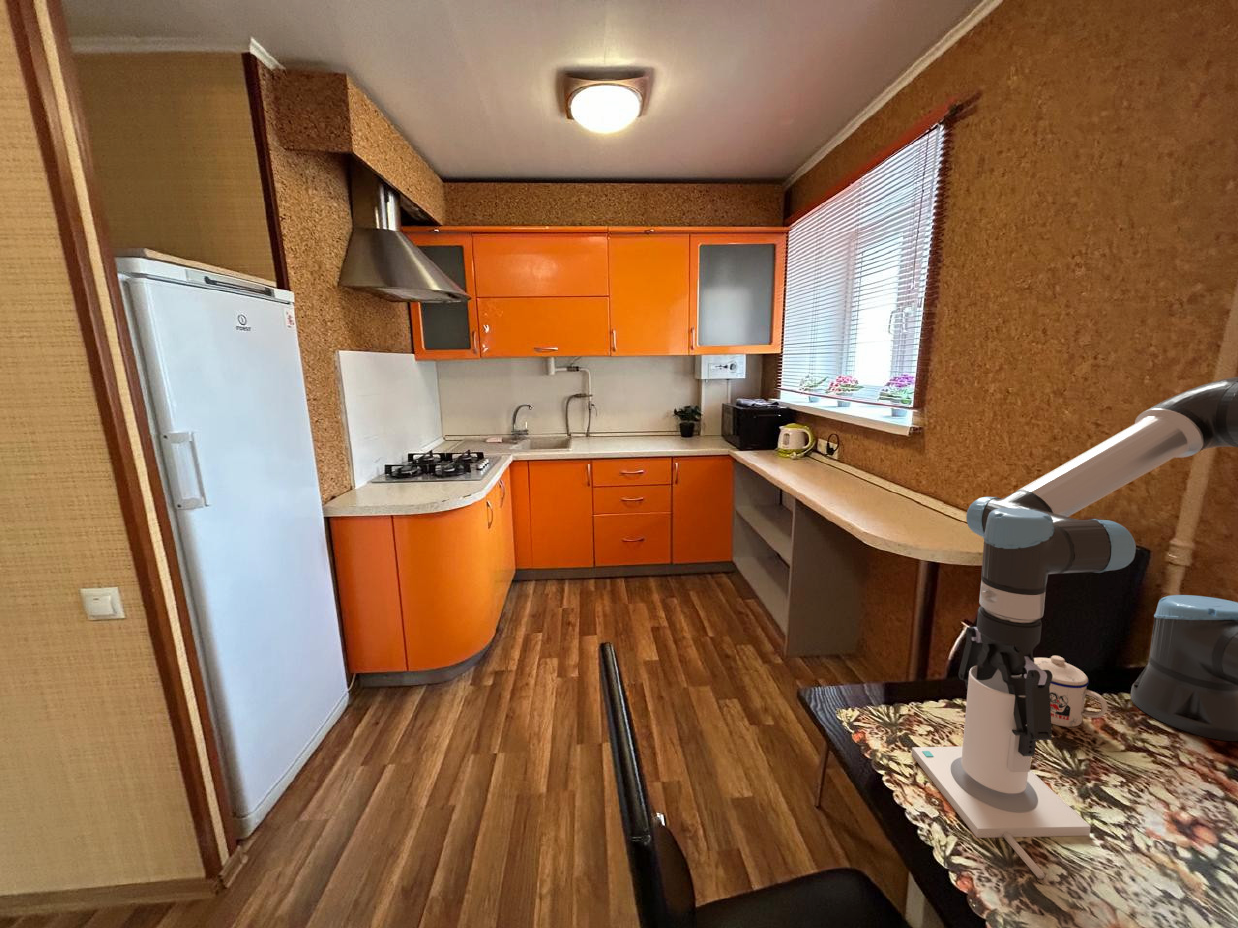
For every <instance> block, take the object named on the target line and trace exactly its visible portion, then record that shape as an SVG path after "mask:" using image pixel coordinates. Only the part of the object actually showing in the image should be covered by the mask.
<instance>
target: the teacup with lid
mask: <svg viewBox="0 0 1238 928" xmlns="http://www.w3.org/2000/svg"><path fill="white" fill-rule="evenodd" d="M1033 658H1034V663H1035V664H1036V665H1037V666H1038V667H1039V668H1040V669H1042V670H1049V671H1051V673H1052V675H1053V677H1052V681H1051V684H1050V687H1049V688H1050V708H1051V725H1055V726H1056V725H1057V726H1061V727H1065V728H1067V727H1068V728H1071V727H1077V726H1079V725H1081V724H1082V722H1083V716H1085V717H1088V718H1090V719H1092V718H1093V719H1097V718H1102V717H1103V716H1105V714H1106V713H1107V711H1108V706H1109V705H1108V702H1107V700H1106V699H1105V698H1104V697H1103V696H1101V695H1100V694H1099V693H1098V692H1095V691H1093V690H1090V689H1087V686H1088V685H1089V683H1090V681H1089V678H1088V676H1087V675H1086V674H1085V673H1084V671H1082V670H1081V669H1079V668H1078V667H1076V666H1074V665H1072V664H1070V663H1067V662H1066V660H1065V658H1063V657H1061V656H1060V655H1052V656H1050V657H1049V658H1048V657H1033ZM1086 695H1087V696H1090V697H1092V698H1094V699H1096V700H1097V701H1098V703H1100V705H1101V708H1100V710H1099V711H1097V712H1092V711H1088V710H1086V709H1085V701H1086ZM1084 709H1085V710H1084Z"/></svg>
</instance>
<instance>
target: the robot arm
mask: <svg viewBox="0 0 1238 928" xmlns="http://www.w3.org/2000/svg"><path fill="white" fill-rule="evenodd" d="M1229 447H1232V448H1238V376H1234V377H1227V378H1223V379H1219V380H1215V381H1211V382H1208V383H1204V384H1202V385H1199V386H1196V387H1194V388H1190V389H1187V390H1185V391H1183V392H1180V393H1178V394H1176V395H1174V396H1171V397H1169V398H1167V399H1165V400H1163V401H1161V402H1159V403H1157V404H1155V405H1154V406H1151V407H1150V408H1148V409H1146V410H1144V411H1143V412H1141V413H1140V414H1138V415H1137V416H1136V418H1135V420H1134V423H1133V424H1132V425H1130V426H1129V427H1127V428H1124V429H1123V430H1122V431H1119V432H1118V433H1116V434H1114V435H1113V436H1110V437H1109V438H1107V439H1105V440H1104V441H1102V442H1100V443H1098V444H1097V445H1095V446H1093V447H1092V448H1090V449H1088V450H1086V451H1084V452H1083V453H1081V454H1079V455H1077V456H1076V457H1074V458H1072V459H1070V460H1068V461H1067V462H1065V463H1063V464H1061V465H1060V466H1058V467H1056V468H1055V469H1053V470H1051V471H1049V472H1048V473H1045V474H1044V475H1042V476H1041V477H1038V478H1036V479H1035V480H1033V481H1031V482H1030V483H1028V484H1026V485H1025V486H1023V487H1021V488H1019V489H1018V490H1016V491H1014V492H1012V493H1010V494H1008V495H1007V496H1005V497H1003V498H1000V497H999V496H983V497H979V498H977V499H975V500H974V501H973V502H972V503H971V504H970V505H969V507H968V509H967V511H966V516H965V517H966V524H967V527H968V528H969V529H970V530H971V531H972V533H974V534H975V535H977V536H979V537H982V538H983V539H982V540H983V548H982V549H983V551H982V561H981V562H982V565H981V576H980V577H981V578H980V579H981V581H980V589H979V590H980V591H979V601H978V603H979V605H980V606H979V607H978V610H977V618H976V626H971V627H970V626H969V627H966V642H965V646H964V649H963V653H962V658H961V662H960V666H959V670H958V675H957V676H958V678H959V680H962V681H964V682H965V688H966V689H967V690H968V680H969V671H970V669H971V668H972V667H973V666H976V665H977V679H978V680H988V679H991V678H992V677H993V675H994V674H995V672H996V671H997V669H999V670H1000V672H1001V674H1002V679H1003V681H1004V682H1005V683H1006V684H1007V686H1008V691H1009V694H1013V695H1015V703H1014V713H1013V714H1014V719H1015V723H1016V728H1017V729H1011V737H1010V747H1009V756H1008V766H1007V768H1008V769H1009V770H1010V771H1011V772H1030V770H1031V765H1032V764H1031V763H1032V757H1034V755H1035V753H1036V745H1037V741H1050V740H1052V739H1053V731H1052V723H1051V708H1050V688H1049V687H1050V684H1051V681H1052V677H1053V675H1052V673H1051V671H1049V670H1042V669H1040V668H1039V667H1038V666H1037V665H1036V664H1035V663H1034V658H1035V657H1034V655H1033V650H1034V649H1035V648H1036V647H1037V646H1038V645H1039V644H1040V643H1041V634H1042V627H1043V626H1042V625H1043V621H1042V620H1041V618H1043V616H1044V611H1045V603H1046V601H1045V600H1046V591H1047V583H1048V577H1049V575H1058V574H1074V573H1075V574H1076V573H1077V574H1079V573H1098V574H1100V573H1101V574H1102V573H1104V572H1109V571H1117V570H1121V569H1124V568H1126V567H1128V566H1129V565H1130V564H1131V563H1132V562H1133V561H1134V559H1135V556H1136V551H1137V549H1136V548H1137V547H1136V546H1137V545H1136V542H1135V539H1134V536H1133V535H1132V533H1131V532H1130V531H1129V530H1128V529H1127V528H1126V527H1125V526H1123V525H1122V524H1120V523H1118V522H1116V521H1113V520H1108V519H1107V520H1106V519H1105V520H1104V519H1096V518H1091V519H1086V520H1084V519H1076V518H1072V517H1070V516H1072V515H1074V514H1075V513H1077V512H1080V511H1081V510H1083V509H1085V508H1086V507H1089V506H1091V505H1092V504H1093V503H1096V502H1098V501H1100V500H1101V499H1103V498H1104V497H1107V496H1108V495H1110V494H1111V493H1113V492H1115V491H1117V490H1119V489H1121V488H1122V487H1124V486H1126V485H1127V484H1130V483H1131V482H1133V481H1135V480H1137V479H1138V478H1140V477H1142V476H1144V475H1145V474H1148V473H1150V472H1151V471H1153V470H1155V469H1156V468H1158V467H1160V466H1162V465H1164V464H1165V463H1167V462H1169V461H1170V460H1172V459H1174V458H1187V457H1191V456H1194V455H1195V454H1197V453H1200V452H1201V451H1203V450H1207V449H1212V448H1229ZM1153 617H1154V619H1153V627H1152V635H1151V642H1150V651H1149V656H1148V657H1149V658H1148V662H1147V663H1148V664H1147V665H1146V667H1144V669H1143V671H1142V672H1141V673H1139V676H1138V677H1137V679H1136V680H1135V681H1134V683H1132V685H1131V690H1130V700H1131V702H1132V703H1133V704H1134V705H1135V706H1136V707H1137V708H1138V709H1140V710H1141V711H1142V712H1143V713H1145V714H1147V715H1148V716H1150V717H1152V718H1153V719H1156V721H1159V722H1161V723H1164V724H1165V725H1168V726H1170V727H1173V728H1174V729H1178V730H1181V731H1184V732H1187V733H1189V734H1193V735H1195V736H1199V737H1204V738H1209V739H1213V740H1220V741H1224V742H1225V741H1228V742H1238V602H1237V601H1234V600H1233V601H1232V600H1227V599H1223V598H1218V597H1211V596H1202V595H1189V594H1172V595H1167V596H1164V597H1162V598H1160V599H1159V600H1158V603H1157V607H1156V611H1155V613H1154V615H1153ZM1011 675H1021V677H1011ZM1019 696H1026V697H1024V698H1023V697H1019ZM1026 724H1027V726H1025V725H1026Z"/></svg>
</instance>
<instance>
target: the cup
mask: <svg viewBox="0 0 1238 928" xmlns="http://www.w3.org/2000/svg"><path fill="white" fill-rule="evenodd" d="M968 672H969V680H968V689H967V691H966V693H967V694H966V705H965V715H964V728H963V739H962V746H963V748H962V760H961V763H962V766H963V768H964V770H965V771H966V772H967V774H968V775H969V776H971V777H972V778H973V779H974V780H976V781H977V782H979V783H980V784H982V785H984V786H986V787H988V788H990V789H993V790H996V791H999V792H1003V793H1012V794H1014V793H1020V792H1022V791H1024V790H1025V789H1026V786H1027V777H1028V772H1011V771H1010V770H1009V769H1008V768H1007V766H1008V756H1009V747H1010V737H1011V729H1017V728H1016V723H1015V719H1014V714H1013V713H1014V703H1015V695H1013V694H1009V691H1008V686H1007V684H1006V683H1005V682H1004V681H1003V679H1002V674H1001V672H1000V670H999V669H997V671H996V672H995V674H994V675H993V677H992V678H991V679H988V680H978V679H977V665H976V666H973V667H972V668H971V669H970V670H968ZM1011 677H1021V675H1011ZM1019 697H1023V698H1024V697H1026V696H1019ZM1025 726H1027V724H1026V725H1025Z"/></svg>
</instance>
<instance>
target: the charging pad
mask: <svg viewBox="0 0 1238 928" xmlns="http://www.w3.org/2000/svg"><path fill="white" fill-rule="evenodd" d="M962 748H963V745H961V746H922V747H921V746H918V747H917V746H916V747H913V746H912V747H911V756H912V757H913V759H914V761H916V763H918V764H917V765H919V766H920V768H921V769H922V770H923V772H924V773H925V774H926V775H927V776H928V778H929V780H931V782H932V783H933V785H934V786H935V787H936V788H937V789H938V791H939V792H940V793H941V794H942V796H943V797H944V799H946V800H947V802H948V803H949V805H950V806H951V807H952V808H953V810H954V811H955V812H956V813H957V814H958V816H959V817H960V819H961V820H962V821H963V822H964V824H966V826H967V827H968V828H969V830H970V831H971V833H973V835H974V836H975V838H977V839H978V838H979V839H984V838H985V839H987V838H1004V840H1005V841H1006V842H1007V843H1008V845H1010V847H1011V848H1012V849H1013V850H1014V852H1015V853H1016V854H1017V856H1019V857H1020V859H1021V860H1022V861H1023V862H1024V863H1025V865H1026V866H1027V867H1028V868H1029V870H1030V871H1031V872H1032V873H1033V874H1034V875H1035V877H1037V879H1039V880H1042V879H1044V878H1045V876H1046V874H1045V873H1044V872H1043V870H1042V869H1041V868H1040V867H1039V866H1038V865H1037V863H1036V862H1035V861H1034V860H1033V859H1032V858H1031V856H1029V855H1028V853H1027V852H1026V851H1025V850H1024V848H1023V847H1021V845H1020V844H1019V843H1018V841H1017V840H1016V839H1015V838H1030V837H1031V838H1032V837H1036V838H1037V837H1044V838H1045V837H1086V836H1090V834H1091V825H1090V824H1089V823H1088V822H1087V821H1085V819H1084V818H1082V817H1081V816H1080V815H1079V814H1078V813H1077V812H1076V811H1075V810H1074V809H1073V808H1072V807H1071V806H1069V805H1068V803H1067V802H1065V801H1064V800H1063V798H1061V797H1060V796H1059V795H1058V794H1057V793H1056V792H1055V791H1054V790H1052V789H1051V788H1050V786H1048V785H1047V784H1046V783H1045V782H1044V781H1042V779H1041V778H1040V777H1039V776H1037V774H1035V773H1034V772H1033V771H1032V770H1031V769H1030V772H1028V777H1027V786H1026V789H1025V790H1024V791H1022V792H1020V793H1014V794H1012V793H1003V792H999V791H996V790H993V789H990V788H988V787H986V786H984V785H982V784H980V783H979V782H977V781H976V780H974V779H973V778H972V777H971V776H969V775H968V774H967V772H966V771H965V770H964V768H963V766H962V763H961V760H962Z"/></svg>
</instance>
